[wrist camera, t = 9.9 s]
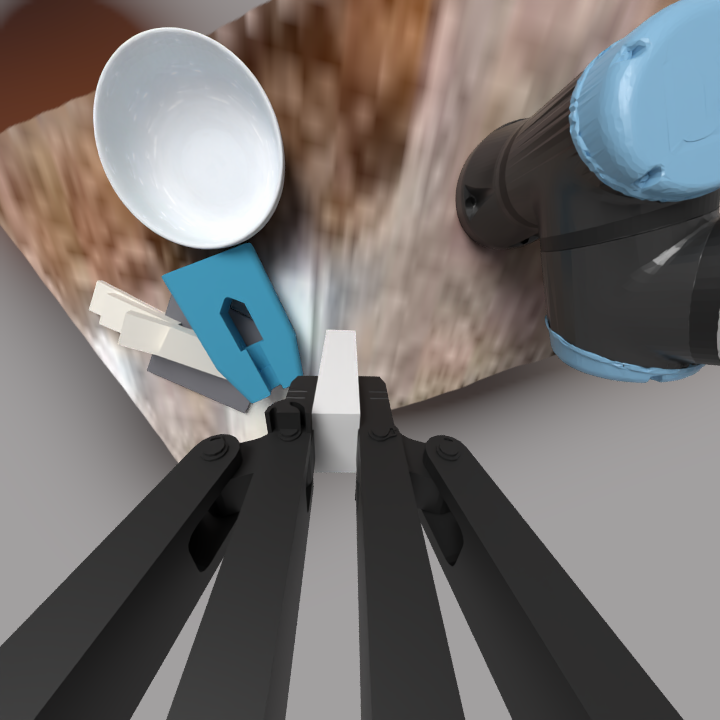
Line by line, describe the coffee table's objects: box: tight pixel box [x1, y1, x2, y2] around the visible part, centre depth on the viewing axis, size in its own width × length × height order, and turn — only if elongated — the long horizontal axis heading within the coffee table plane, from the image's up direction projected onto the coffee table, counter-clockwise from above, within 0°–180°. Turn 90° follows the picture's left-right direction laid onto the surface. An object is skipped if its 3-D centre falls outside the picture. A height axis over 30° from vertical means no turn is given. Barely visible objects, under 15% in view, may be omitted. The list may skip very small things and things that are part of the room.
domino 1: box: [89, 280, 165, 316], centre depth 42 cm, size 2×5×10 cm
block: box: [162, 243, 303, 403], centre depth 40 cm, size 12×5×20 cm
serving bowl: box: [93, 28, 285, 249], centre depth 34 cm, size 21×21×7 cm
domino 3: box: [118, 310, 193, 355], centre depth 40 cm, size 2×5×10 cm
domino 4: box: [158, 323, 226, 379], centre depth 41 cm, size 2×5×10 cm
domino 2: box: [99, 293, 181, 333], centre depth 41 cm, size 2×5×10 cm
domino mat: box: [147, 294, 263, 413], centre depth 44 cm, size 17×16×1 cm
